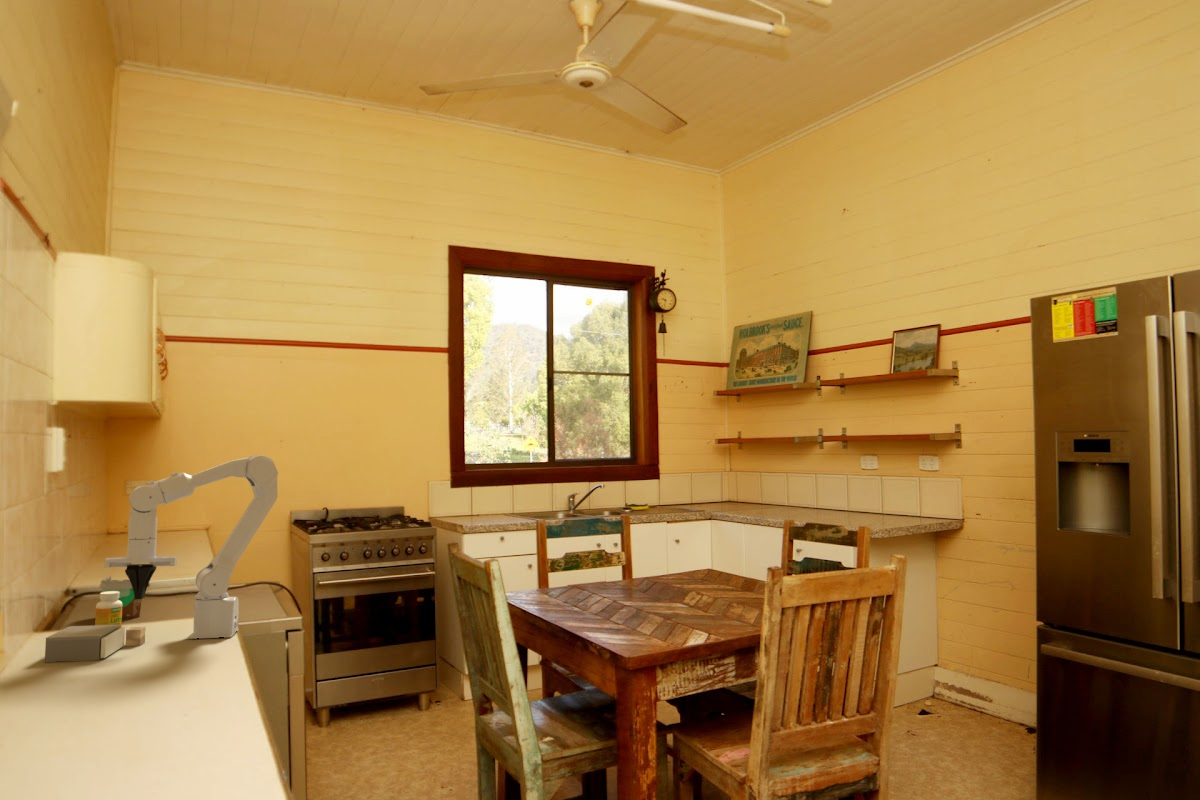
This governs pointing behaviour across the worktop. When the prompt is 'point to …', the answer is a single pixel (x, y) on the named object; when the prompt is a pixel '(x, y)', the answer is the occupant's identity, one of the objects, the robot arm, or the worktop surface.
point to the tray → (112, 642)
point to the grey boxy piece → (77, 643)
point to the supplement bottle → (109, 609)
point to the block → (135, 636)
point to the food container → (123, 596)
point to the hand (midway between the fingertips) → (139, 598)
